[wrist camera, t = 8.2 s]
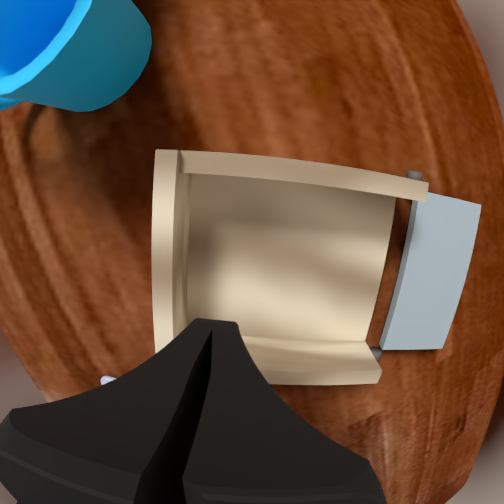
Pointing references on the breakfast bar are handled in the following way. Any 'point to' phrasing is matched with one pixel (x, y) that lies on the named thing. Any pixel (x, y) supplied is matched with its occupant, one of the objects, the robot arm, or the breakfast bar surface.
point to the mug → (70, 52)
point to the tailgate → (431, 273)
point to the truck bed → (275, 257)
